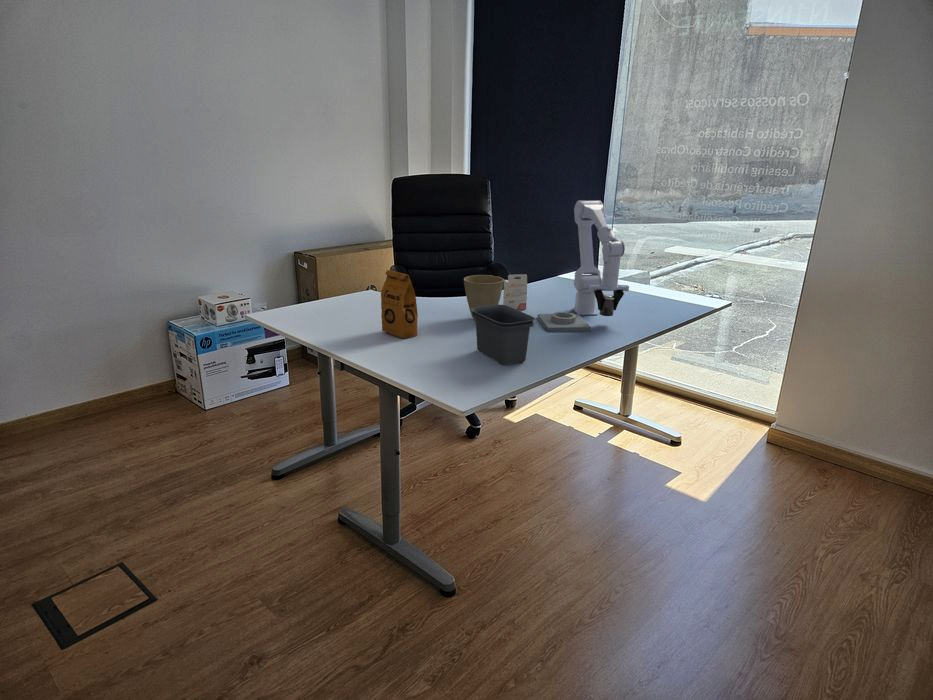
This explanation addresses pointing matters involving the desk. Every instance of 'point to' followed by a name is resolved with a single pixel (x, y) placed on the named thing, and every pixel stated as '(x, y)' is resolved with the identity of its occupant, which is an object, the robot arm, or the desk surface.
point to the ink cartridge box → (515, 292)
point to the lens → (607, 305)
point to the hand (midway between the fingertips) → (606, 309)
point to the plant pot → (483, 290)
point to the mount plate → (563, 322)
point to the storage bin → (502, 332)
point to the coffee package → (399, 306)
